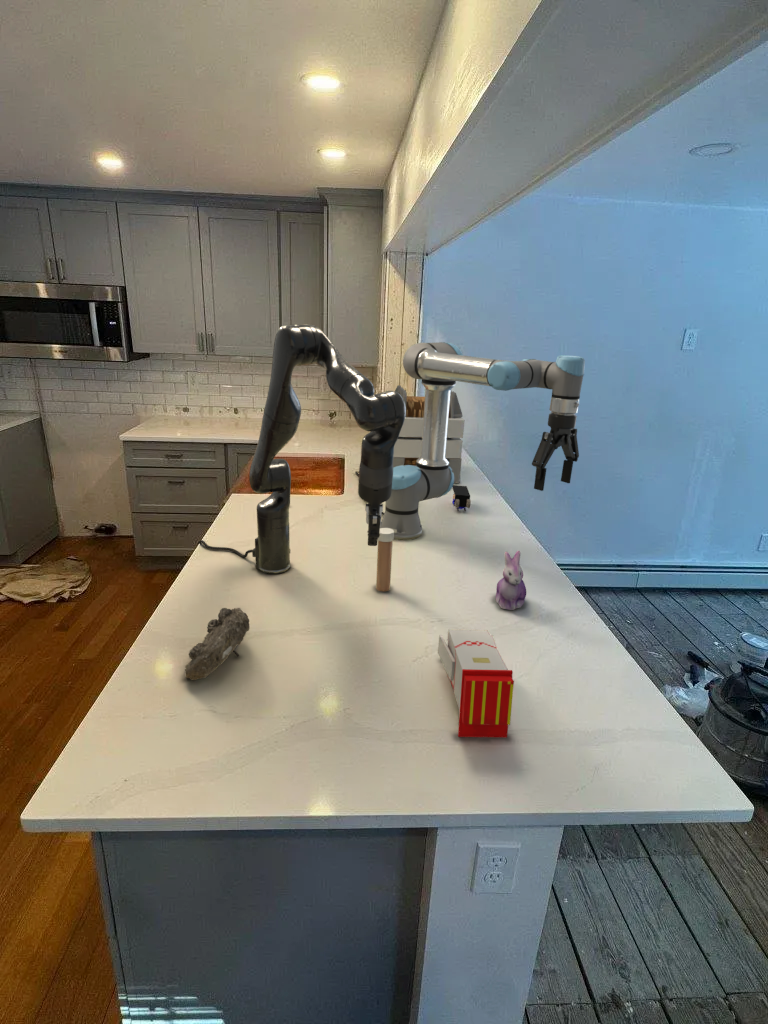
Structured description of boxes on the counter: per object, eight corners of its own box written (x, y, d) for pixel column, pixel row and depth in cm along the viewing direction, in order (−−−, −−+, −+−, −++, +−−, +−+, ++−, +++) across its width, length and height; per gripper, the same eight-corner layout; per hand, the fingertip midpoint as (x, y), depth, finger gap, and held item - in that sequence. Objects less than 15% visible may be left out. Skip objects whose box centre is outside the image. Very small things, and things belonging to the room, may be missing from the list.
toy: (488, 613, 130) (523, 677, 101) (484, 667, 133) (517, 744, 104) (435, 612, 130) (455, 676, 101) (432, 666, 133) (451, 743, 103)
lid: (375, 541, 154) (375, 532, 153) (378, 534, 158) (379, 526, 157) (392, 543, 153) (392, 534, 152) (395, 536, 157) (395, 528, 156)
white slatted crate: (382, 463, 289) (386, 382, 275) (445, 464, 293) (451, 384, 279) (390, 482, 257) (394, 392, 243) (460, 483, 261) (468, 394, 247)
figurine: (508, 614, 149) (515, 562, 144) (485, 597, 158) (490, 547, 153) (536, 607, 153) (543, 557, 148) (511, 591, 162) (518, 542, 157)
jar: (374, 590, 159) (377, 534, 153) (377, 584, 163) (379, 528, 157) (388, 592, 158) (391, 535, 153) (391, 586, 162) (394, 530, 156)
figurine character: (470, 516, 223) (465, 500, 237) (473, 499, 220) (467, 484, 233) (453, 516, 223) (449, 500, 236) (455, 498, 220) (451, 483, 233)
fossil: (204, 611, 136) (249, 581, 131) (232, 638, 139) (276, 610, 134) (164, 674, 117) (215, 642, 112) (197, 704, 120) (248, 674, 115)
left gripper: (358, 459, 131) (356, 514, 141) (358, 496, 120) (356, 552, 130) (391, 460, 131) (386, 514, 141) (394, 497, 120) (388, 553, 130)
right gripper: (548, 419, 148) (537, 496, 155) (598, 411, 163) (586, 482, 171) (525, 414, 153) (515, 489, 160) (575, 407, 169) (564, 476, 176)
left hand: (372, 533), depth 135 cm, fingers open, 8 cm apart
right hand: (552, 485), depth 166 cm, fingers open, 13 cm apart
